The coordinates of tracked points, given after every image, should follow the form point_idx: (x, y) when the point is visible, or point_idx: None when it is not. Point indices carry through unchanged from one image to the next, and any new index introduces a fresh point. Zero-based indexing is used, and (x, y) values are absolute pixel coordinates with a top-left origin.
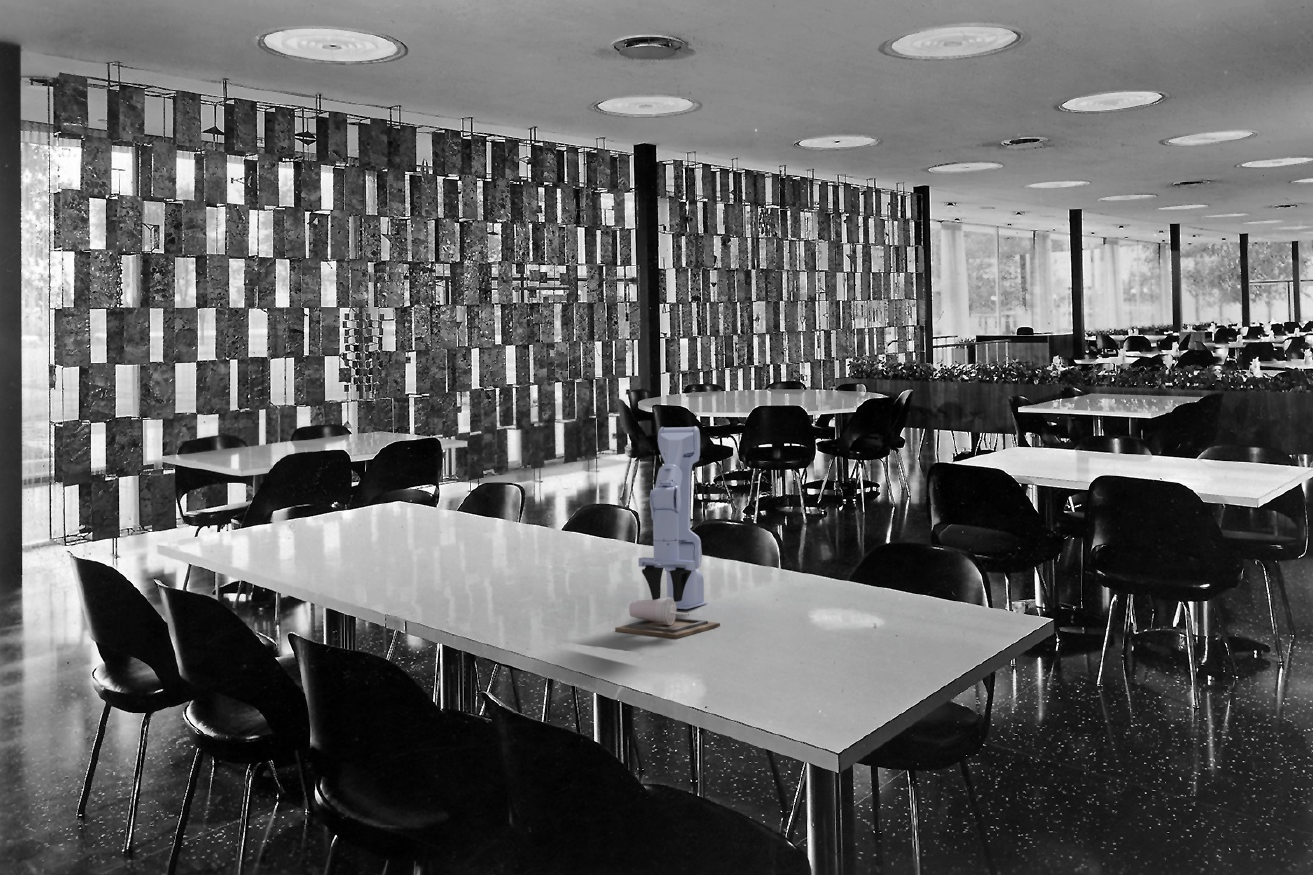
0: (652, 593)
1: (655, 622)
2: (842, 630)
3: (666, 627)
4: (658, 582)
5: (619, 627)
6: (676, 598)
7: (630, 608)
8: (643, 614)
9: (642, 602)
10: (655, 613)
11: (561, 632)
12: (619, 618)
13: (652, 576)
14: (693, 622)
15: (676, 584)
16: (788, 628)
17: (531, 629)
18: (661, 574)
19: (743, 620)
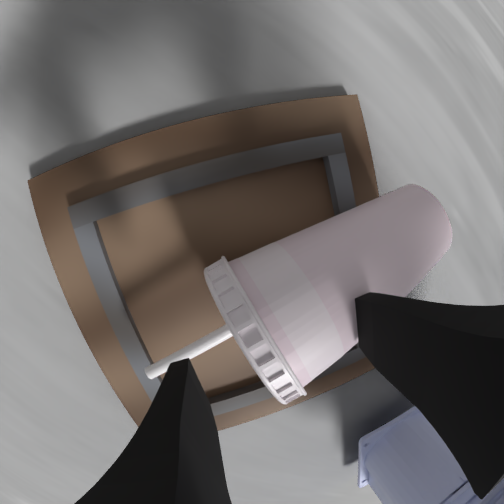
0: (387, 301)
1: None
2: (7, 500)
3: (202, 257)
4: (429, 398)
5: (349, 107)
6: (165, 376)
7: (414, 187)
8: (341, 213)
9: (396, 236)
10: (274, 243)
11: (418, 10)
12: (468, 268)
13: (487, 366)
14: (214, 397)
15: (125, 453)
16: (50, 489)
17: (470, 22)
18: (455, 455)
19: None
